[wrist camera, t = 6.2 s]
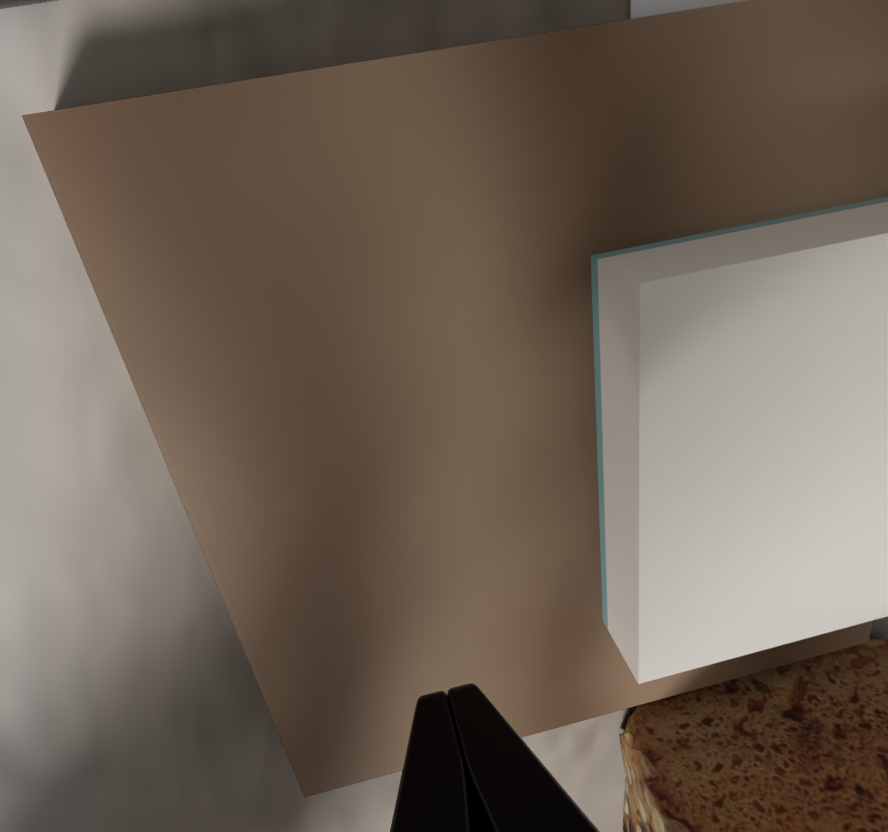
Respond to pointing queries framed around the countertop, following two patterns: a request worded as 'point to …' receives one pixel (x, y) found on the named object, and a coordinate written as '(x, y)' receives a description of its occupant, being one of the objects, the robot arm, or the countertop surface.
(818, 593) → the tile
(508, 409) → the board
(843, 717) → the bread
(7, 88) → the countertop surface
